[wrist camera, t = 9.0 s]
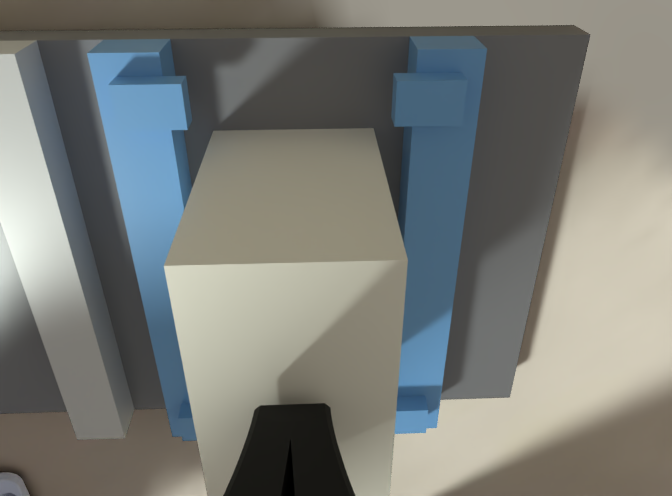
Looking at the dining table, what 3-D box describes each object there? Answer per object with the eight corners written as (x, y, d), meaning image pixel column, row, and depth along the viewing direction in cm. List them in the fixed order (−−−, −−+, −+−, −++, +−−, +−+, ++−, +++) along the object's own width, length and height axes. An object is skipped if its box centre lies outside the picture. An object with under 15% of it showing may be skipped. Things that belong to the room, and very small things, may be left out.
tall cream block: (366, 339, 19) (388, 514, 13) (238, 343, 18) (212, 521, 13) (373, 127, 15) (408, 260, 10) (213, 130, 15) (163, 265, 10)
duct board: (501, 376, 21) (526, 440, 19) (-189, 397, 20) (-255, 466, 18) (573, 24, 15) (625, 54, 12) (-435, 35, 14) (-588, 68, 11)
